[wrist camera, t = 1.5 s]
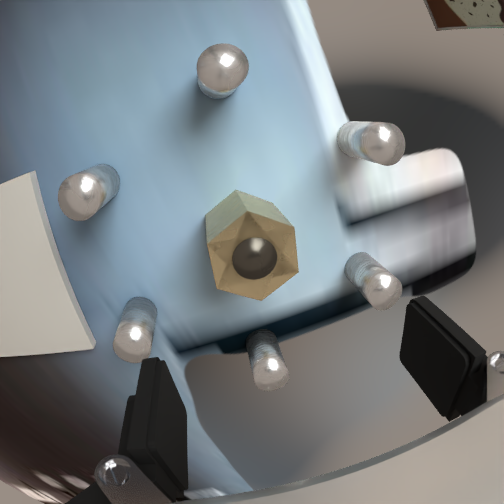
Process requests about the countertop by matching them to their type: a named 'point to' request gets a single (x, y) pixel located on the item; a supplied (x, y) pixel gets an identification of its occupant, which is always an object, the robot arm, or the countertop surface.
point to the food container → (466, 13)
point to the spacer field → (260, 341)
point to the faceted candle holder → (250, 246)
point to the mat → (34, 279)
